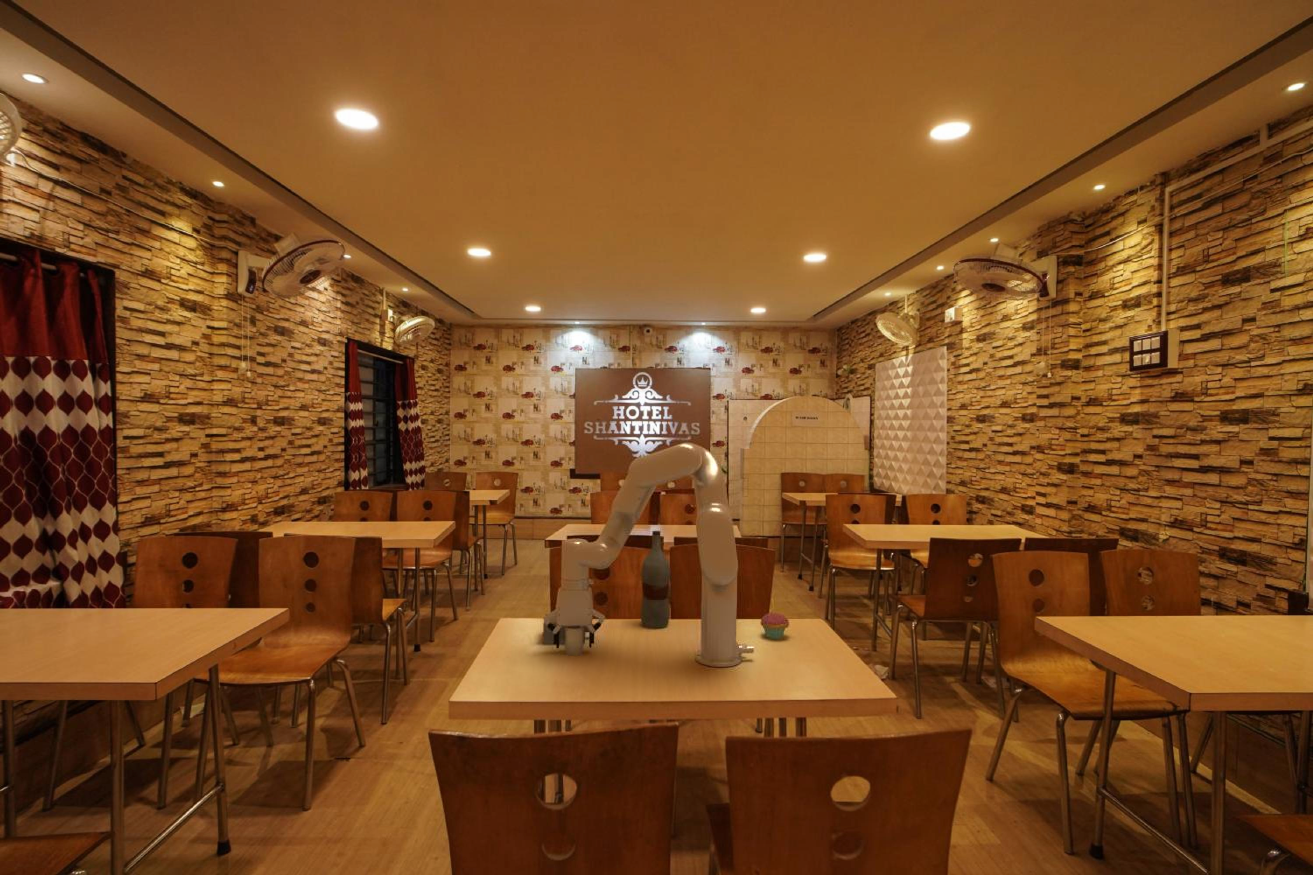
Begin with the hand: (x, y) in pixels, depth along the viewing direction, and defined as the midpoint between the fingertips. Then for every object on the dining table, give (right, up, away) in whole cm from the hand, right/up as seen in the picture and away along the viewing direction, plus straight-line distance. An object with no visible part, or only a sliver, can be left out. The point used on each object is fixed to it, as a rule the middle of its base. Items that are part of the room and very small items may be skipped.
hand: (574, 646), depth 174 cm
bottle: (+22, -2, +26) cm, 35 cm away
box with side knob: (-3, -2, +13) cm, 13 cm away
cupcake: (+59, -3, +16) cm, 61 cm away
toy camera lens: (0, -2, 0) cm, 2 cm away
